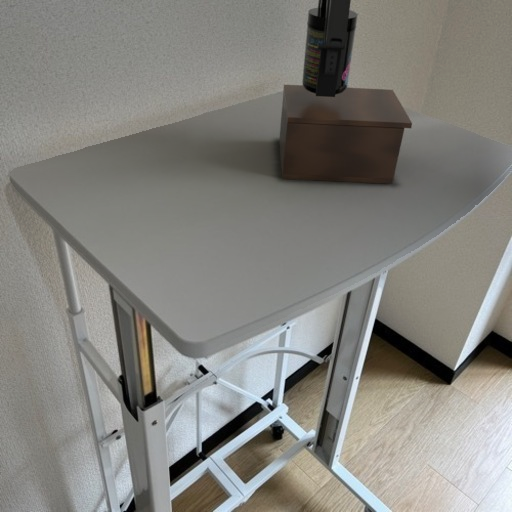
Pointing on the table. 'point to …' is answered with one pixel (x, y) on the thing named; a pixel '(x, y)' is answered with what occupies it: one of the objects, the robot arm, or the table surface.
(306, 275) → the table surface
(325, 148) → the chest
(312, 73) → the supplement container
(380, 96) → the lid
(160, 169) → the table surface
